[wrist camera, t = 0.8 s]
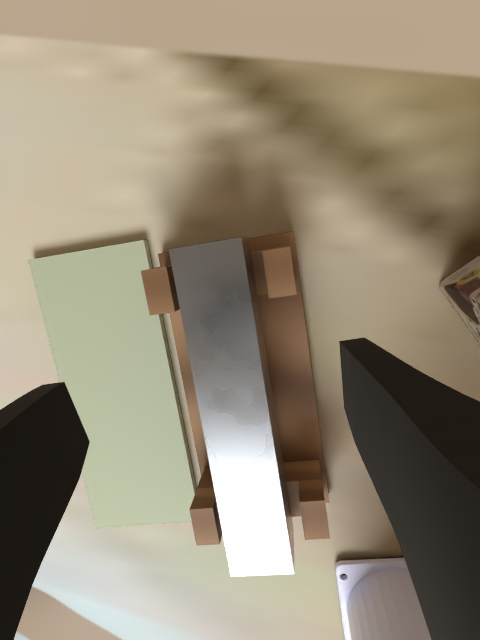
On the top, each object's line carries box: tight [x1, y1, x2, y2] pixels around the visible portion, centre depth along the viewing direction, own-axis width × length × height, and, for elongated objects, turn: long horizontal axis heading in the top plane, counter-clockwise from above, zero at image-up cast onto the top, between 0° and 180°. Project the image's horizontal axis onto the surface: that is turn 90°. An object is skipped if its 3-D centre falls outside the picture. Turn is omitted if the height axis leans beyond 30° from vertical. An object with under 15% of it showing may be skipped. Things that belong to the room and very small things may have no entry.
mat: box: [29, 240, 197, 528], centre depth 27 cm, size 20×8×1 cm, turn 9°
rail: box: [169, 237, 294, 577], centre depth 22 cm, size 18×4×4 cm, turn 9°
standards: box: [141, 231, 330, 545], centre depth 24 cm, size 18×8×5 cm, turn 9°
